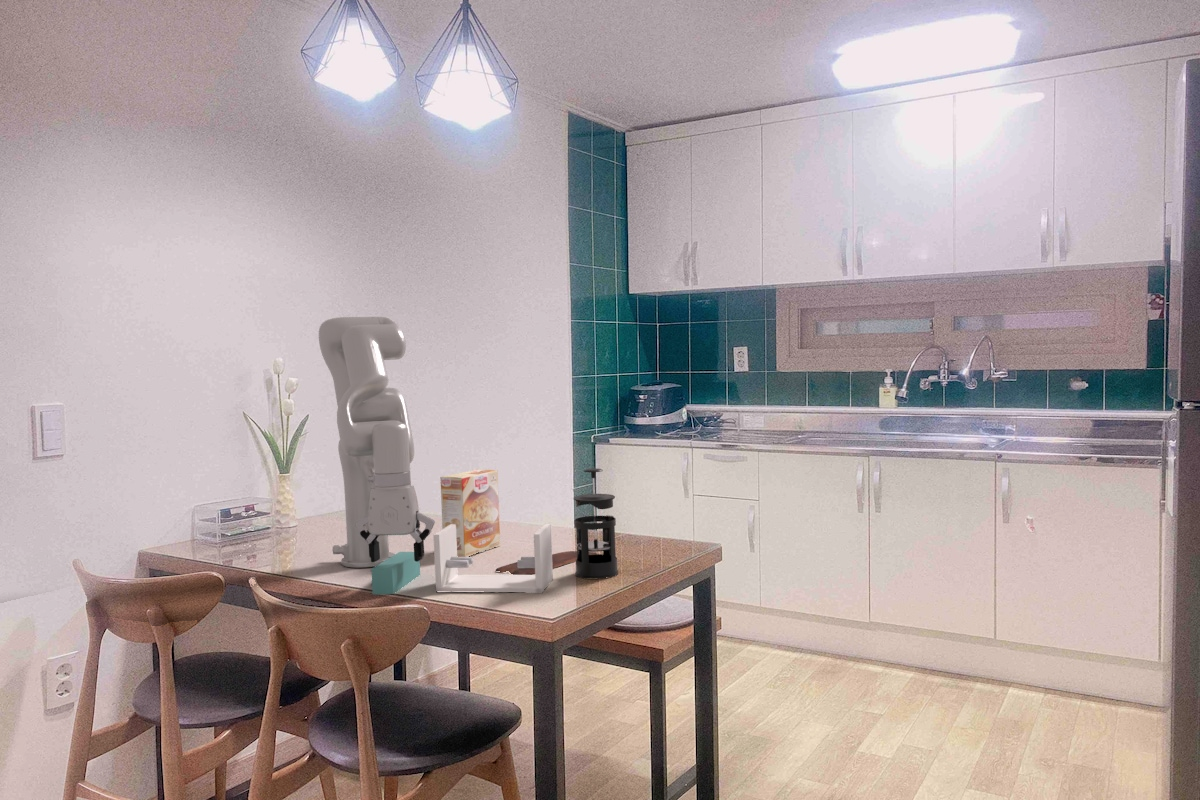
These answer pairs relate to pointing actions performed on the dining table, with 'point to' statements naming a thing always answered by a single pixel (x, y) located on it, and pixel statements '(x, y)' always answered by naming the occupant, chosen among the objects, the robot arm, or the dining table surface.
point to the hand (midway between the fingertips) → (397, 560)
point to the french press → (595, 563)
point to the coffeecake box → (472, 509)
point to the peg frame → (452, 581)
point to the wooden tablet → (557, 561)
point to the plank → (394, 573)
